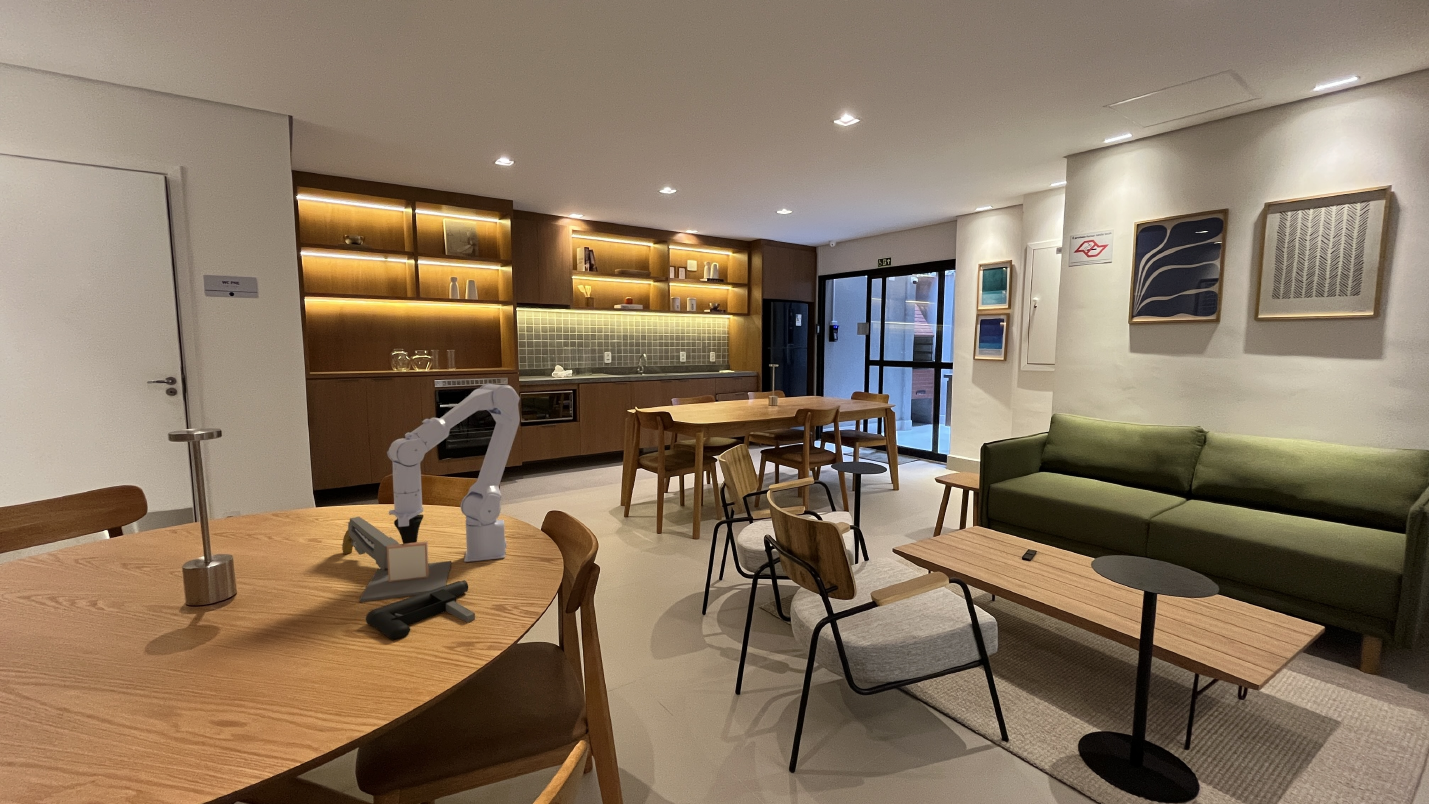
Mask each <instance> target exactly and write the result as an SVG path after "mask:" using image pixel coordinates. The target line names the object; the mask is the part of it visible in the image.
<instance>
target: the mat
mask: <svg viewBox="0 0 1429 804" xmlns="http://www.w3.org/2000/svg"><path fill="white" fill-rule="evenodd" d="M428 564H429V576H428V578H419V579H411V580H402V581H393V582H389V579H388V569H386V570H381V568H377V569H376V571H375V573H374V574H373V576H372V578H371V579H370V581H369V582H368V585H367V586H366V587H365V589H364V591H363V592H362V594H361V596H360V597H359V600H358V601H359V603H365V602H373V601H380V600H387V599H388V600H389V599H395V598H404V597H412V596H415V595H418V594H421V593H424V592H427V591H430V590H433V589H436V588H439V587H442V586H445V585H447V580H448V576H449V574H450V570H451V566H452V560H447V561H445V560H444V561H437V562H428Z"/></svg>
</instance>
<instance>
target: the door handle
mask: <svg viewBox="0 0 1429 804" xmlns="http://www.w3.org/2000/svg"><path fill="white" fill-rule="evenodd" d="M468 590H469V585H468V582H467V581H466V580H458V581H455V582H452V583H451V582H450V583H449V584H446V585H445V586H442V587H439V588H436V589H433V590H430V591H427V592H424V593H421V594H418V595H413V596H408V597H407V598H404V599H401V600H398V601H395V602H392V603H389V604H385V605H382V606H380V607H376V608H373V609H371V610H370V611H368V613H367V614H366V615H365V622H366V624H368V625H369V626H372V627H374V628H376V629H377V631H380V632H381V633H382V634H383V635H385V636H386V637H387V638H388V639H390V640H393V641H394V640H395V641H396V640H400V639H403V638H405V637H407V636H408V635H409V634H410V632H411V627H410V625H413V624H416V623H418V622H420V621H423V620H426V619H429V618H432V617H435V616H438V615H440V614H442V613H443V614H444V613H448V614H450V615H451V616H454V617H455V618H458V619H459V620H462V621H464V622H465V623H470V622H472V621H474V620H476V613H475V612H474V611H473V610H471V609H469V608H467V607H465V606H463V605H462V604H460V603H458V602H457V597H460V596H462V595H463V594H465V593H466V592H468Z"/></svg>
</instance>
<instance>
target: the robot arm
mask: <svg viewBox="0 0 1429 804" xmlns="http://www.w3.org/2000/svg"><path fill="white" fill-rule="evenodd" d="M520 400H521V398H520V396H519V395H518V393H517V391H516V390H515V389H514V387H512V386H511V385H509V384H494V383H485V384H482V385H481V386H480V387H479V388H476V389H474V390H473V391H472V392H471V393H470V394H468V396H466V397H465V398H464V399H463V400H462V401H460V402H459V403H458V404H456V405H455V406H454V407H453V408H451V409H450V410H449V411H447V412H446V413H444V415H443V416H441V417H440V418H438V417H431V418H425V419H423V420H422V421H421V423H422V424H421V425H420V426H418V427H417V428H415V429H414V430H412V431H411V432H406V433H405V434H404V436H405V438H403V437H402V438H398V439H396V440H394V441H393V442H391V444H390V446H389V449H388V450H387V451H386V454H387V457H388V459H390V461H392V487H393V504H394V505H393V506H394V509H390V510H389V511H388V515H389V516H395V518H396V519H395V520H394V521H393V525H394V527H395V528H396V529H397V531H398V532H399V535H400V538H401V541H402V544H405V543H415V542H418V535H419V530H420V526H421V524H422V521H423V519H424V514H423V512H424V507H423V495H422V494H423V493H422V470H421V462H423V460H424V458H425V454H426V453H428V452H429V451H431V450H432V449H433V448H435V447H436V446H437V445H439V444H440V443H441V442H443V441H444V440H445V439H447V438H448V437H449V436H450V430H451V429H452V428H453V427H455V426H457V424H458V425H459V423H460V422H463V421H464V420H466V419H467V418H468V417H470V416H472V415H473V414H475V413H476V412H478V411H485V410H486V411H488V412H489V413H490V414H491V416H492V418H493V420H494V421H495V426H494V429H493V432H492V435H491V438H490V441H489V444H488V446H487V451H486V453H485V456H484V459H483V462H482V464H481V465H482V466H481V468H480V471H479V473H478V474H479V475H478V477H477V480H476V481H475V483H473V484H472V485H471V486H470V487H469V490H468V491H467V492H468V493H467V494H466V495H465V496H464V497H463V498H462V500H461V502H460V511H461V513H462V515H464V516H465V536H466V539H465V540H466V550H465V551H466V552H465V555H464V563H469V562H478V561H487V560H498V559H504V558H506V549H507V547H508V546H507V540H506V533H505V532H506V530H505V529H506V528H505V520H504V519H498V518H499V516H500V514H501V510H502V508H501V500H502V497H503V496H502V493H501V490H500V484H501V480H502V477H503V475H504V471H505V469H506V468H505V467H506V465H507V463H508V459H509V456H510V452H511V450H512V446H513V443H514V441H515V437H516V435H517V431H518V429H519V426H520V425H519V424H520V421H521V420H520V419H521V417H520V410H519V403H520Z"/></svg>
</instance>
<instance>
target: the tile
mask: <svg viewBox="0 0 1429 804" xmlns="http://www.w3.org/2000/svg"><path fill="white" fill-rule="evenodd" d="M428 545H429V544H428V541H426V540H425V541H417V542H415V543H405V544H403V543H400V544H395V545H388V546H387V559H388V579H389V582H393V581H402V580H411V579H419V578H428V576H429V564H428V563H429V550H428V549H429V547H428Z"/></svg>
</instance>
